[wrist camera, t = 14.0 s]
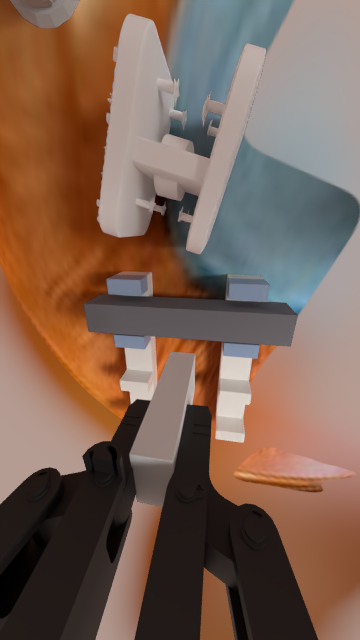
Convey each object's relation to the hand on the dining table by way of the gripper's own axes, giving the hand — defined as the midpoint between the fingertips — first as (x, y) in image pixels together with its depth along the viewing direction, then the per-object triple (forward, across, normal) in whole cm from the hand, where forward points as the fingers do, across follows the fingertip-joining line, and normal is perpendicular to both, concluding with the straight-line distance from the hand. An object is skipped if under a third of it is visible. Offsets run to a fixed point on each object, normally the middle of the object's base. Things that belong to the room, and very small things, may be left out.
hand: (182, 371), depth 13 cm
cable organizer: (+21, +3, -14) cm, 25 cm away
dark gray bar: (+18, +2, +3) cm, 18 cm away
